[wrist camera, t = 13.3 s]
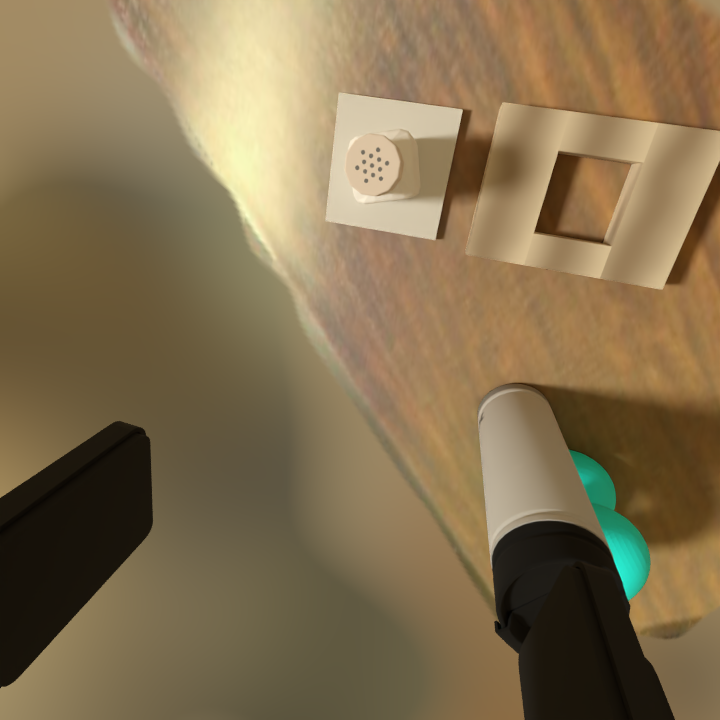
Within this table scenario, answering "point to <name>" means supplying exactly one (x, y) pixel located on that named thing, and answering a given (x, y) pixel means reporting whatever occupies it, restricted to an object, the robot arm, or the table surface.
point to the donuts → (615, 525)
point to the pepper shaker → (383, 166)
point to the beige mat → (435, 155)
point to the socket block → (635, 205)
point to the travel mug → (532, 507)
